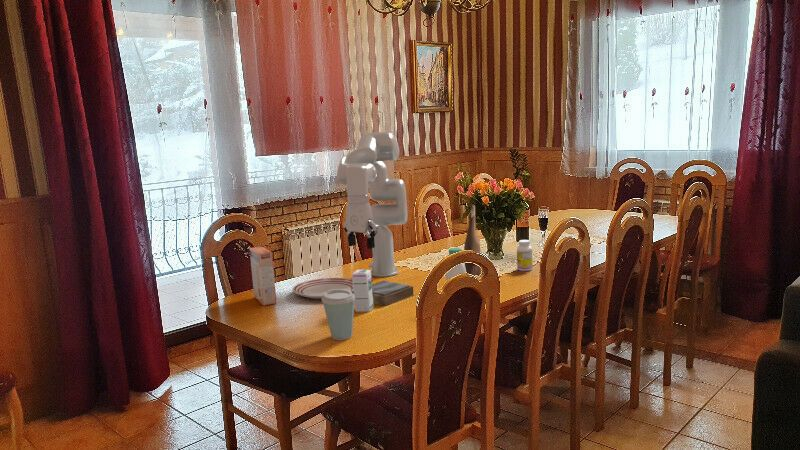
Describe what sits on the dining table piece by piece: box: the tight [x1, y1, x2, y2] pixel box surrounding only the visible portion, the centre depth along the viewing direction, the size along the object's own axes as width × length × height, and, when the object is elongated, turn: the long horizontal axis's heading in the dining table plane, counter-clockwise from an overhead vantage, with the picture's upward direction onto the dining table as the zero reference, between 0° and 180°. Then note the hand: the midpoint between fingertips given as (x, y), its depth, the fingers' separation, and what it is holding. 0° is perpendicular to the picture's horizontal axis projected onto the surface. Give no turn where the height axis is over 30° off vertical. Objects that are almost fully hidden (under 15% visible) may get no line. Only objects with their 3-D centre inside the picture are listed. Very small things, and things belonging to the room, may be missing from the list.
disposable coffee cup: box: [321, 289, 355, 341], centre depth 190 cm, size 11×11×15 cm
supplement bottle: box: [516, 239, 533, 272], centre depth 260 cm, size 7×7×13 cm
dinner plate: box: [292, 277, 354, 300], centre depth 243 cm, size 28×27×3 cm
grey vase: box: [463, 204, 482, 276], centre depth 246 cm, size 11×12×32 cm
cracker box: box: [249, 246, 277, 307], centre depth 235 cm, size 14×6×21 cm, turn 27°
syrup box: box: [351, 268, 375, 313], centre depth 217 cm, size 6×6×14 cm
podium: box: [372, 280, 414, 307], centre depth 232 cm, size 16×16×4 cm
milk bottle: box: [445, 247, 466, 281], centre depth 220 cm, size 8×8×20 cm
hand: (361, 246), depth 215 cm, fingers open, 9 cm apart
